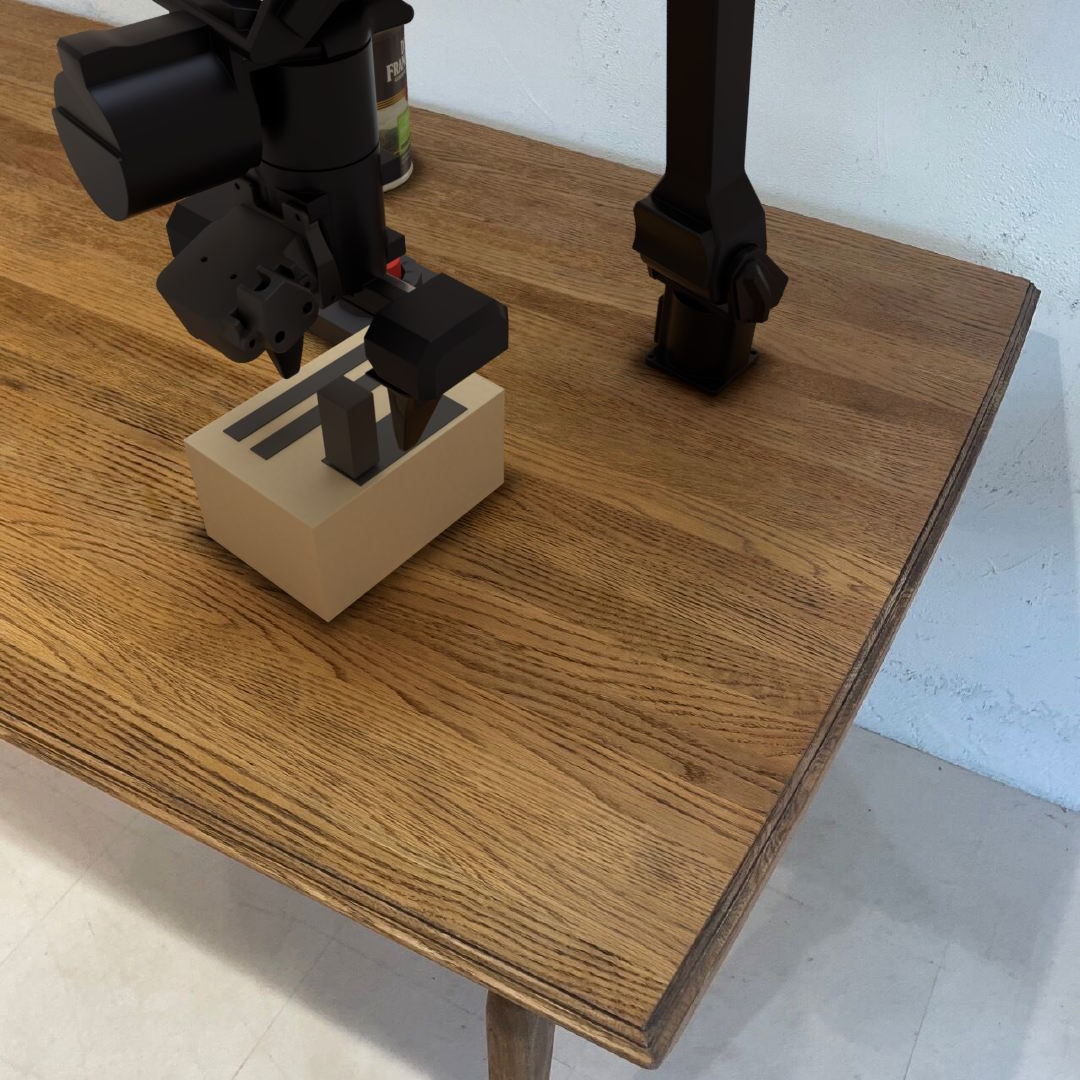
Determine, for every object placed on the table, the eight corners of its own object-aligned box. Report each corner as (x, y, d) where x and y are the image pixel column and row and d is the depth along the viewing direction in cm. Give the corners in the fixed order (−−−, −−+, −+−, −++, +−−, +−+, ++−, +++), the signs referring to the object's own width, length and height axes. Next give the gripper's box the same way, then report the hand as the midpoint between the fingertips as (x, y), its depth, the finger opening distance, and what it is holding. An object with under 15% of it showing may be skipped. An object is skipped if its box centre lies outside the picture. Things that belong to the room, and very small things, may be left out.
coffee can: (418, 144, 108) (410, -11, 98) (407, 200, 101) (397, 39, 91) (309, 140, 108) (291, -15, 98) (291, 195, 101) (268, 34, 91)
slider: (380, 461, 65) (373, 392, 61) (355, 479, 64) (346, 410, 60) (350, 443, 66) (342, 374, 62) (325, 460, 65) (315, 391, 61)
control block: (481, 318, 89) (480, 274, 86) (390, 378, 84) (387, 333, 81) (372, 262, 94) (368, 218, 91) (280, 314, 89) (272, 270, 86)
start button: (411, 276, 86) (410, 256, 85) (377, 296, 84) (375, 276, 83) (377, 258, 88) (375, 238, 87) (343, 278, 86) (341, 258, 85)
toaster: (504, 483, 76) (505, 387, 70) (328, 623, 67) (312, 527, 62) (386, 413, 81) (377, 317, 75) (207, 535, 72) (181, 438, 66)
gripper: (36, 136, 51) (119, 408, 62) (326, 297, 43) (361, 575, 54) (232, 57, 57) (275, 318, 68) (518, 186, 49) (514, 457, 60)
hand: (347, 409), depth 62 cm, fingers open, 9 cm apart
